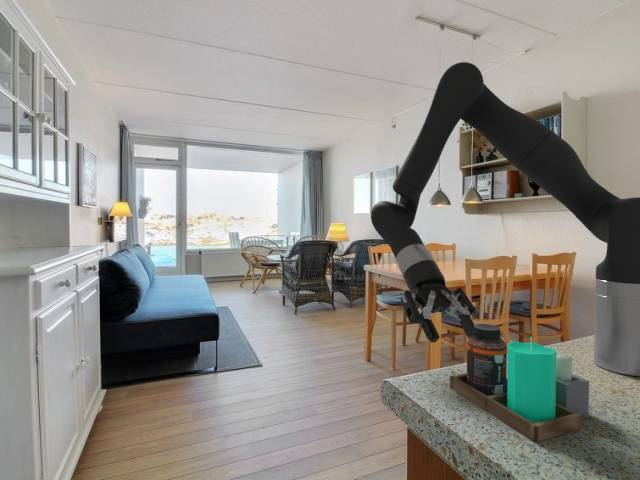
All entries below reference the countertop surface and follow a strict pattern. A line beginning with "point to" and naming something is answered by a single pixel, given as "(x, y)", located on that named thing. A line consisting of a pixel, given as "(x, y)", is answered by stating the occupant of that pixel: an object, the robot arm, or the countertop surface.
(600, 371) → the countertop surface
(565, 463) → the countertop surface
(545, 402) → the candle
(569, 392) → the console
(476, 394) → the wooden tray
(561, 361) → the pale green rounded peg
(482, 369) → the supplement bottle
